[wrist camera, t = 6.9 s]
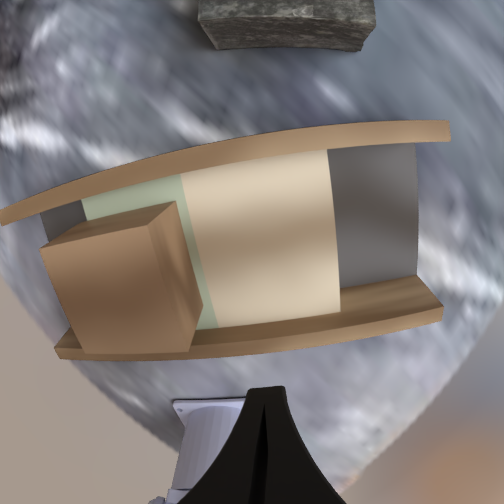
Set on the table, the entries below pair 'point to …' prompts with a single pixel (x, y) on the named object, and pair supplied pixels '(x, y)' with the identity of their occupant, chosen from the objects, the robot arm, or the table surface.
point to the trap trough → (276, 233)
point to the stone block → (287, 23)
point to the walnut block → (127, 282)
